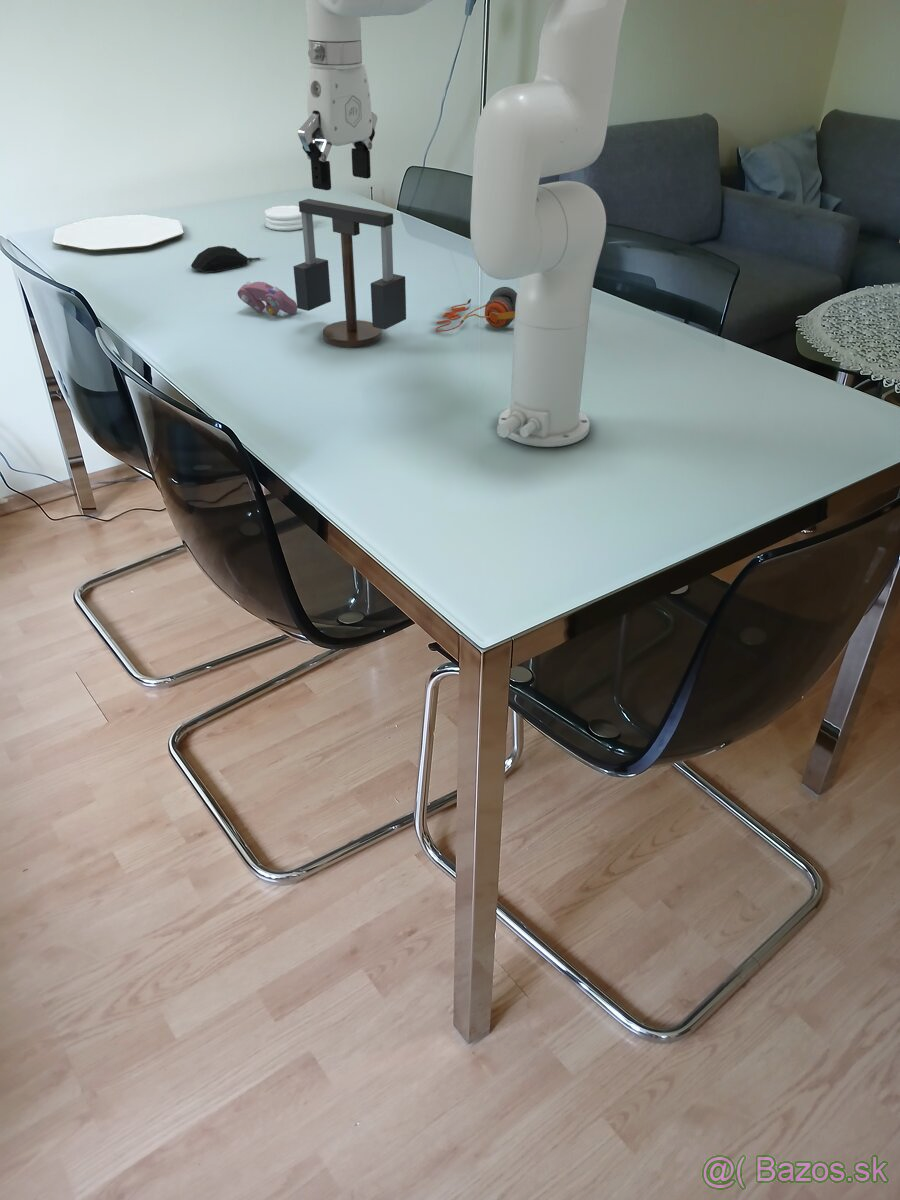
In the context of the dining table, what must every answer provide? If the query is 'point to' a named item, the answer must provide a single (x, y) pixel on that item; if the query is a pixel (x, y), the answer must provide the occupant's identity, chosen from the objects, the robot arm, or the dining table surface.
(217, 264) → the gaming mouse
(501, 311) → the headphones
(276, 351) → the dining table surface
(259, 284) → the video game controller
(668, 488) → the dining table surface
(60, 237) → the plate
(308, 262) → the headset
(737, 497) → the dining table surface
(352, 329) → the headphone stand
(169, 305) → the dining table surface
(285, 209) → the stack of white coasters
